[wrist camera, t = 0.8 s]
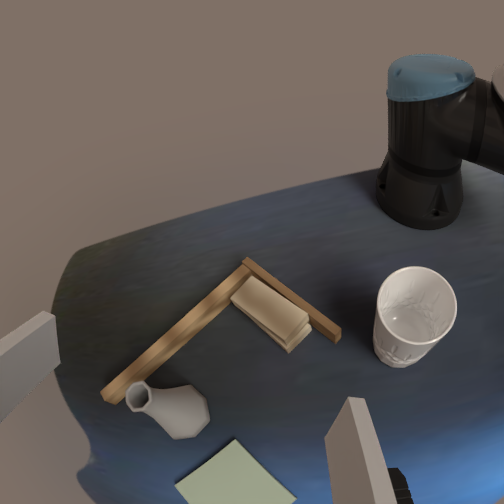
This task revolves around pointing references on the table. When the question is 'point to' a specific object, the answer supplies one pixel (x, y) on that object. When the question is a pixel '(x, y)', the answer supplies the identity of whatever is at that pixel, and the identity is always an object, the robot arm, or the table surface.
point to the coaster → (233, 481)
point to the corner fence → (201, 318)
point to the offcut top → (270, 310)
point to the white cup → (412, 315)
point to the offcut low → (295, 341)
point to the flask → (171, 408)
